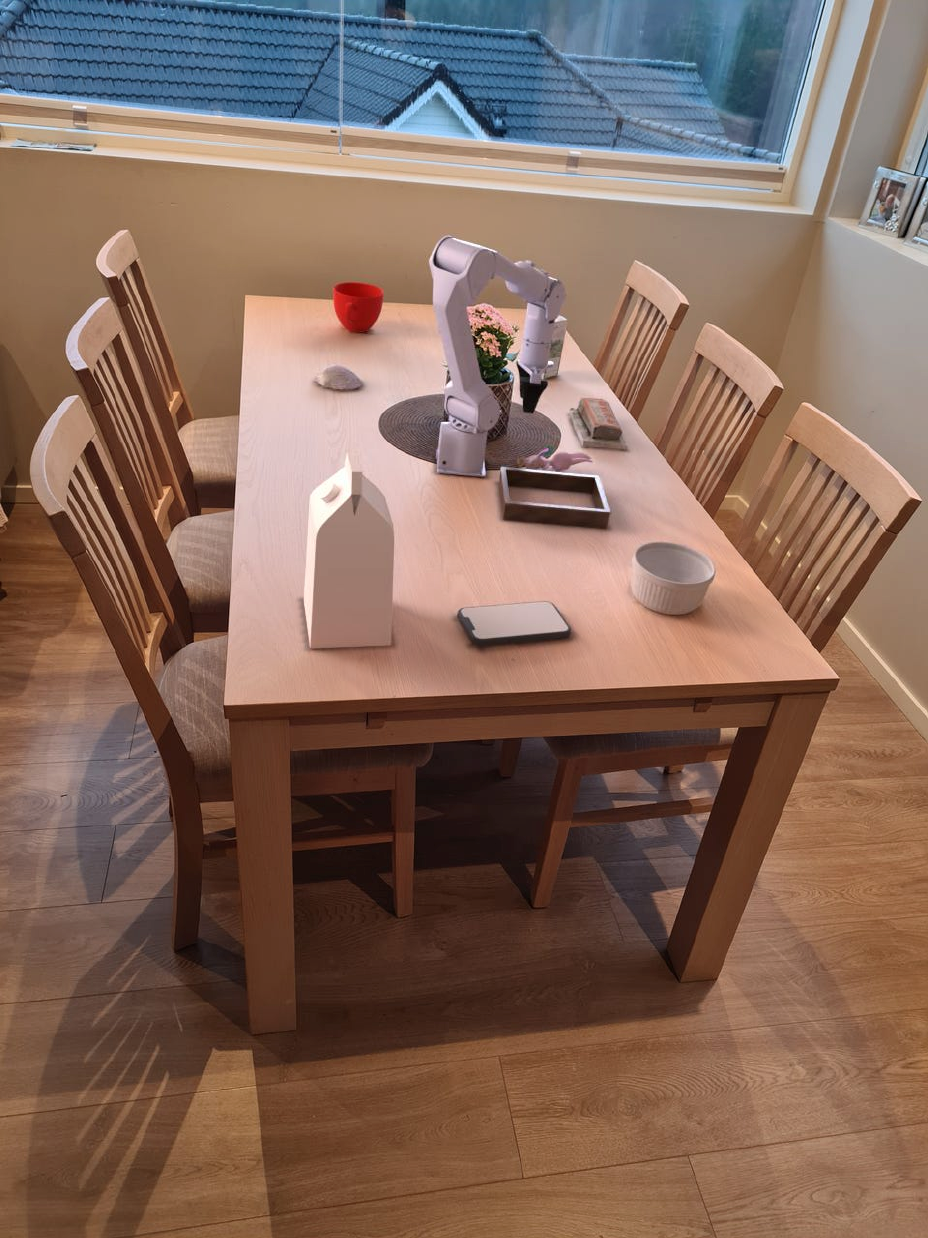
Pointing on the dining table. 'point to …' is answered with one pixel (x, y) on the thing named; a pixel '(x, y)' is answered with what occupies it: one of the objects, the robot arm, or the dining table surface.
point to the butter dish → (597, 424)
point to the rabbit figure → (554, 460)
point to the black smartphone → (513, 623)
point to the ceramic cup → (357, 305)
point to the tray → (548, 511)
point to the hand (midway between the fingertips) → (526, 404)
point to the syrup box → (556, 347)
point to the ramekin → (670, 577)
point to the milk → (349, 562)
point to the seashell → (338, 378)
